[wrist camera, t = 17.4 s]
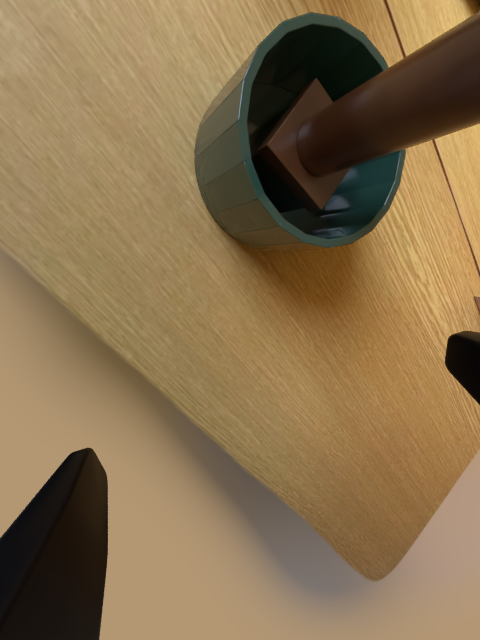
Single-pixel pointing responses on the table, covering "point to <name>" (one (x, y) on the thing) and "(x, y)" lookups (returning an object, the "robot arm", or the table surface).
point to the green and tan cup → (263, 104)
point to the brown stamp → (369, 120)
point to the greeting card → (478, 301)
